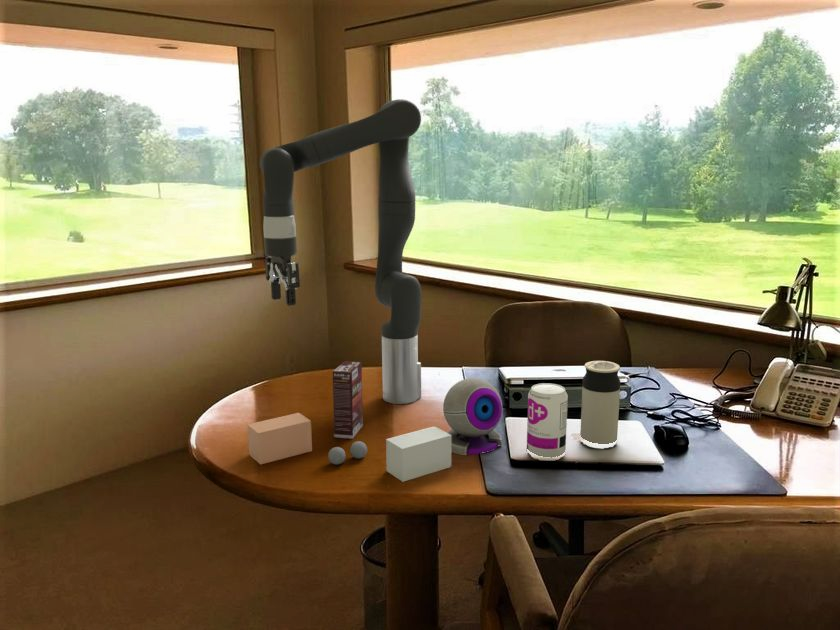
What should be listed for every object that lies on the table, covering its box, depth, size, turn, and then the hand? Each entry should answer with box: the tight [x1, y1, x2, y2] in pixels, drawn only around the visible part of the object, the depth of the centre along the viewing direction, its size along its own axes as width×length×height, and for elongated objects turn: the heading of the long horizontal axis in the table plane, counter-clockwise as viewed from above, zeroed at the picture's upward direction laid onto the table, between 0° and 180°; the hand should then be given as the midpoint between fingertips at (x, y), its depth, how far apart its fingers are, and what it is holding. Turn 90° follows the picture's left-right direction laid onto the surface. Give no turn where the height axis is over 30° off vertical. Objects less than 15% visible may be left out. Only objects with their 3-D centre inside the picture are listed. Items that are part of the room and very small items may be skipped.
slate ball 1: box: [327, 446, 346, 466], centre depth 153 cm, size 4×4×4 cm
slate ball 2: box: [349, 440, 368, 459], centre depth 156 cm, size 4×4×4 cm
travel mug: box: [579, 360, 621, 444], centre depth 161 cm, size 8×8×18 cm
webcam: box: [442, 377, 503, 456], centre depth 162 cm, size 13×13×15 cm
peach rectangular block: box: [246, 412, 313, 465], centre depth 158 cm, size 12×6×7 cm, turn 124°
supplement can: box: [526, 382, 569, 458], centre depth 155 cm, size 8×8×15 cm
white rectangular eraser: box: [385, 426, 452, 483], centre depth 150 cm, size 12×6×7 cm, turn 124°
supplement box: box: [332, 360, 364, 440], centre depth 169 cm, size 9×5×16 cm, turn 168°
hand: (283, 302), depth 177 cm, fingers open, 8 cm apart
